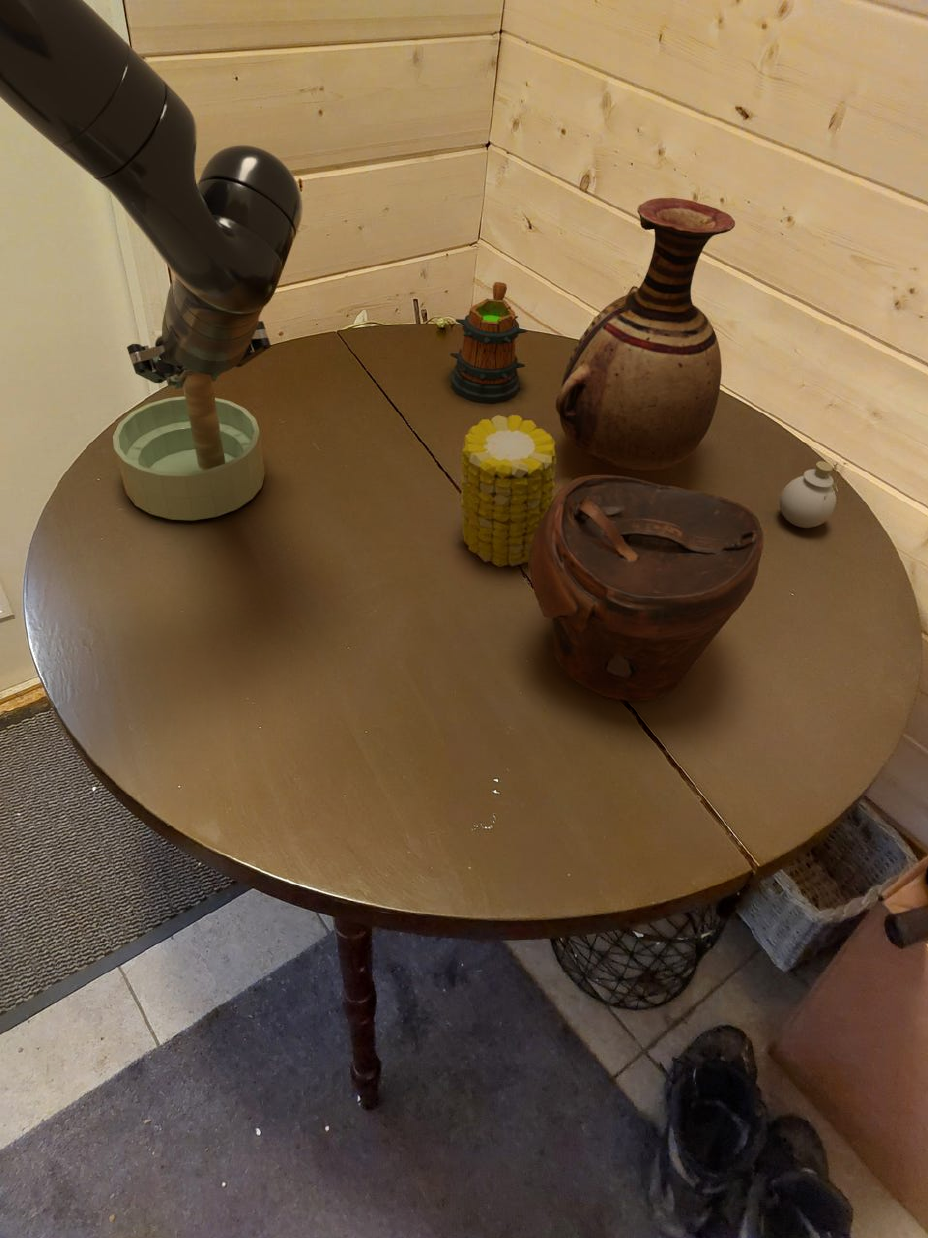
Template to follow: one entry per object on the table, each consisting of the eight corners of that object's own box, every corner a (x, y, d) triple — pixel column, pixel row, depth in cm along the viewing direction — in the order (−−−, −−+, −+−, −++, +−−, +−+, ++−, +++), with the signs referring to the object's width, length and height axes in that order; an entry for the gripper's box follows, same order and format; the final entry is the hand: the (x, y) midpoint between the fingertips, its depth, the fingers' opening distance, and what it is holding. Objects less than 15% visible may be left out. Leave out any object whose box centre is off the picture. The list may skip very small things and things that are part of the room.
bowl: (132, 534, 88) (118, 485, 83) (121, 452, 97) (108, 404, 93) (276, 512, 92) (270, 463, 87) (252, 436, 102) (246, 388, 97)
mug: (517, 409, 110) (528, 327, 102) (442, 397, 111) (447, 315, 103) (527, 362, 119) (539, 283, 111) (458, 351, 120) (464, 272, 112)
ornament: (814, 506, 100) (848, 437, 93) (834, 547, 95) (872, 477, 88) (766, 504, 100) (796, 434, 93) (784, 545, 95) (817, 474, 88)
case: (488, 606, 84) (508, 460, 71) (662, 575, 90) (710, 435, 77) (553, 746, 73) (592, 603, 60) (748, 702, 78) (822, 562, 65)
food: (557, 558, 93) (485, 593, 88) (498, 484, 97) (426, 515, 93) (599, 467, 80) (517, 504, 76) (528, 387, 84) (447, 418, 80)
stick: (200, 473, 92) (177, 358, 82) (196, 458, 94) (174, 343, 84) (227, 469, 93) (208, 355, 83) (223, 454, 95) (204, 340, 85)
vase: (550, 505, 97) (601, 244, 75) (528, 418, 109) (566, 173, 87) (725, 505, 99) (822, 254, 78) (683, 421, 112) (757, 183, 90)
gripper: (274, 262, 74) (244, 329, 90) (113, 287, 69) (111, 353, 85) (301, 344, 75) (266, 396, 91) (143, 375, 69) (136, 425, 85)
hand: (191, 375), depth 88 cm, fingers closed on stick, 3 cm apart
